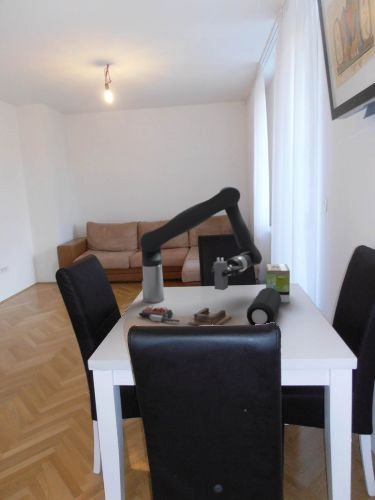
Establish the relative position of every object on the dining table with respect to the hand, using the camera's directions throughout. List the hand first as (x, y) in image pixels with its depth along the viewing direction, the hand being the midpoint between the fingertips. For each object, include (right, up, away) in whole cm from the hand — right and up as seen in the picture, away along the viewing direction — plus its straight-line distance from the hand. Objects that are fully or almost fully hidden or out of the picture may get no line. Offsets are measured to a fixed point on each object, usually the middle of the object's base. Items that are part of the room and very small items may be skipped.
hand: (217, 274), depth 142 cm
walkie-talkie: (-23, -19, +3) cm, 29 cm away
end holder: (-3, -18, -3) cm, 19 cm away
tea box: (+30, -13, +22) cm, 39 cm away
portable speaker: (+18, -18, -4) cm, 26 cm away
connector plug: (+2, -6, +3) cm, 7 cm away
